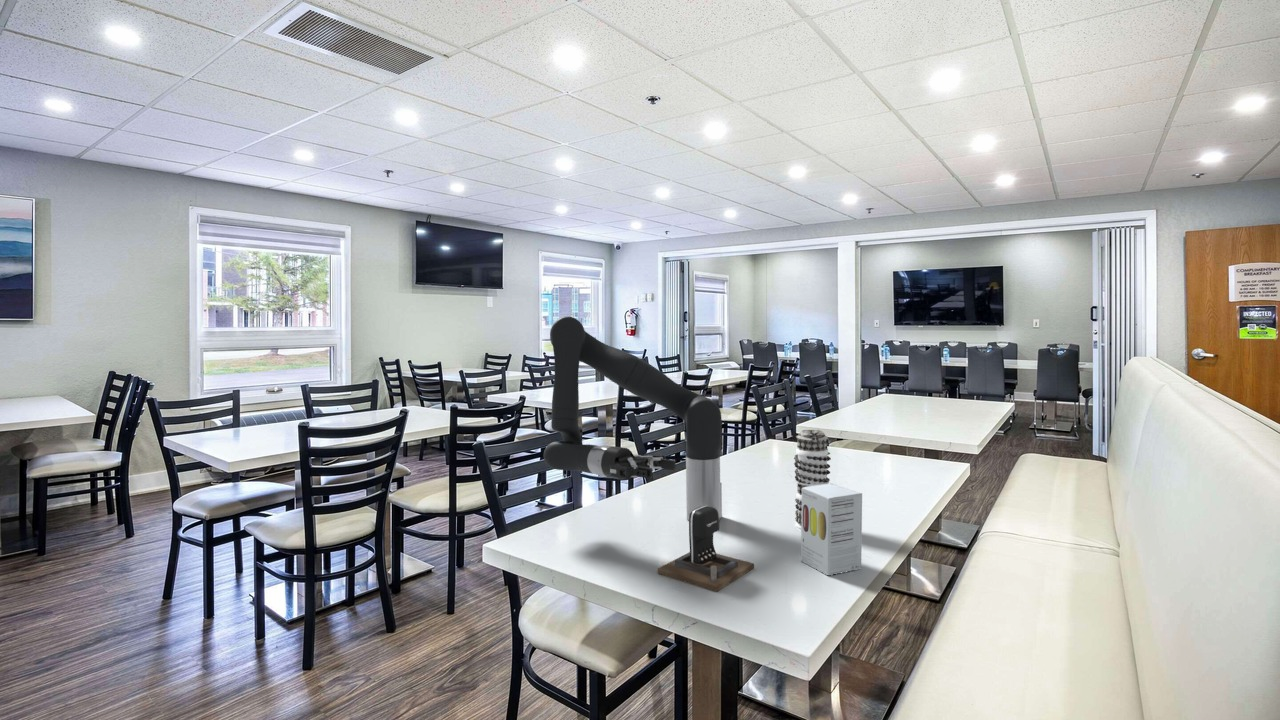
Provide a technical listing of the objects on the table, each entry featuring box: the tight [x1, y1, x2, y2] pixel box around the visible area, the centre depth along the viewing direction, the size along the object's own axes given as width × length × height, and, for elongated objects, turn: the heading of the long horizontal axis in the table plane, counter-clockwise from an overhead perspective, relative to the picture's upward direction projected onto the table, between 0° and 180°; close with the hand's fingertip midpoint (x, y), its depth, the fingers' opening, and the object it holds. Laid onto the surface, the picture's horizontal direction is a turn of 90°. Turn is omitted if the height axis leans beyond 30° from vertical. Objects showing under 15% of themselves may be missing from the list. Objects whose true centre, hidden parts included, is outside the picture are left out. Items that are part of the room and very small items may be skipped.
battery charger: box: [688, 506, 720, 564], centre depth 132 cm, size 7×4×11 cm, turn 138°
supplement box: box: [800, 482, 863, 576], centre depth 134 cm, size 10×9×17 cm
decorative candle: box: [793, 429, 832, 530], centre depth 159 cm, size 9×9×25 cm
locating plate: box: [656, 551, 755, 593], centre depth 132 cm, size 15×15×4 cm
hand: (663, 469), depth 138 cm, fingers open, 8 cm apart
